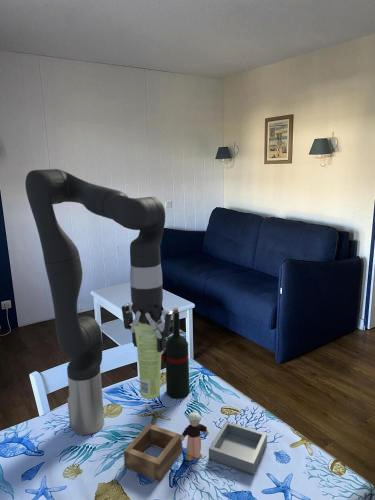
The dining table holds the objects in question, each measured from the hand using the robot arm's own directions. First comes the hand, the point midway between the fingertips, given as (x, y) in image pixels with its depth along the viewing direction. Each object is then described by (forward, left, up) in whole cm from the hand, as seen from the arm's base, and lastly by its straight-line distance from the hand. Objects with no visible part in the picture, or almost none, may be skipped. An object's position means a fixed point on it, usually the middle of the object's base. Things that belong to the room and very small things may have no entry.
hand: (149, 348), depth 92 cm
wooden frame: (0, 0, -32) cm, 32 cm away
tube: (0, 0, -13) cm, 13 cm away
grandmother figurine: (+9, +6, -32) cm, 34 cm away
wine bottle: (-10, +29, -32) cm, 44 cm away
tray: (+19, +12, -32) cm, 39 cm away
